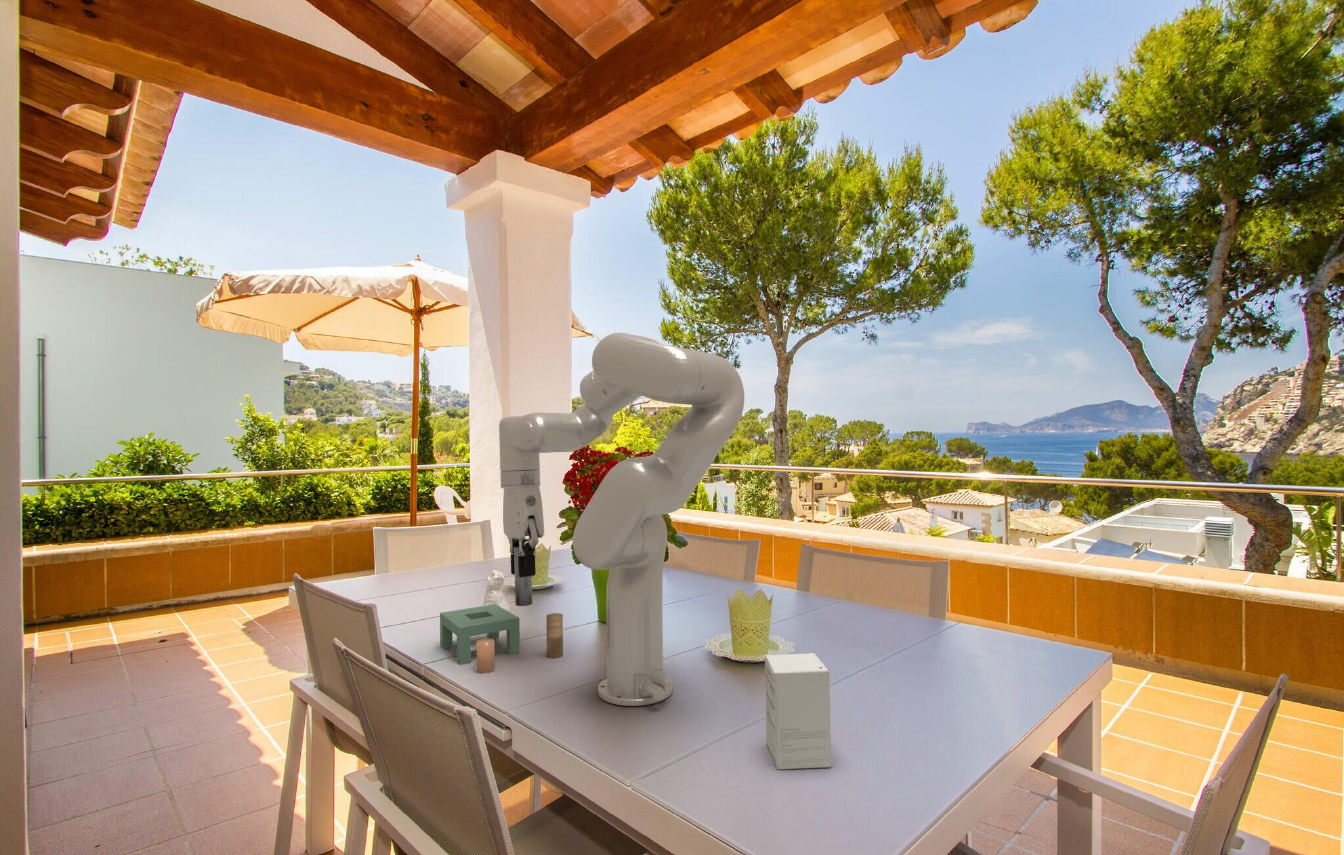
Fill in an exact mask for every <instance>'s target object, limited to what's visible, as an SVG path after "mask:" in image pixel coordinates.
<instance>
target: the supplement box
mask: <svg viewBox="0 0 1344 855" xmlns="http://www.w3.org/2000/svg"><path fill="white" fill-rule="evenodd" d="M764 670H765V671H764V672H765V674H764V676H765V719H766V721H765V724H766V726H765V727H766V728H765V729H766V730H765V731H766V745H767V747H768V749H769V752H770V755H771V757H772V760H773V762H774V765H775V767H776V769H777V770H778V771H779V770H793V769H794V770H795V769H816V768H817V769H818V768H819V769H820V768H831V767H832V743H831V742H832V741H831V738H832V737H831V736H832V735H831V699H830V698H831V697H830V694H831V691H830V688H831V686H830V671H829V670H828V669H827V667H826V666H825V664H824V663H823V662H822V661H821V659H819V657H818V656H817V655H816V654H815V653H814V652H809V653H789V654H788V653H787V654H786V653H785V654H784V653H783V654H781V653H780V654H764Z"/></svg>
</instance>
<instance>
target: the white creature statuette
mask: <svg viewBox="0 0 1344 855" xmlns="http://www.w3.org/2000/svg"><path fill="white" fill-rule="evenodd" d="M490 572H491V573H490V575H489V576H488V577H487V578H486V583H485V584H484V586H485V588H486V590H485V594H484V596H483V599H484V600H483V604H482V606H487V605H493V604H496V605H498V606H500V607H501V608H503V609H505V610H507V611H508V612H510V613H511V607H510V605H509V603H508V601H507V600H506V598H505V596H504V593H503V590H502V586H503V585H504V581H505V575H504V573H503V572H502V571H499V570H496V569H492V570H491V571H490Z"/></svg>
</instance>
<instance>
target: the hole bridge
mask: <svg viewBox="0 0 1344 855" xmlns="http://www.w3.org/2000/svg"><path fill="white" fill-rule="evenodd" d="M503 631H506V653H508V654H509V655H514V654H519V653H520V652H521V647H520V646H521V644H520V643H521V642H520V637H521V636H520V634H521V633H520V617H519V616H517V615H515V614H513V613H512V612H511V611H510V612H508V611H507V610H505V609H503V608H501V607H500V606H498V605H496V604H493V605H487V606H483V605H482V606H475V607H474V606H473V607H470V608H469V607H468V608H462V609H456V610H449V611H442V612H440V613H439V632H440V633H439V647H440V648H441V649H447V648H448V649H449V648H453V634H454V635H455V636H456V663H458V664H459V665H460V666H461V665H464V664H465V665H466V664H469V663H471V637H474V636H475V637H476V636H480V635H481V636H482V635H486V638H492V639H494V640H497V639H496V638H498V639H500V632H503Z"/></svg>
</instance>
